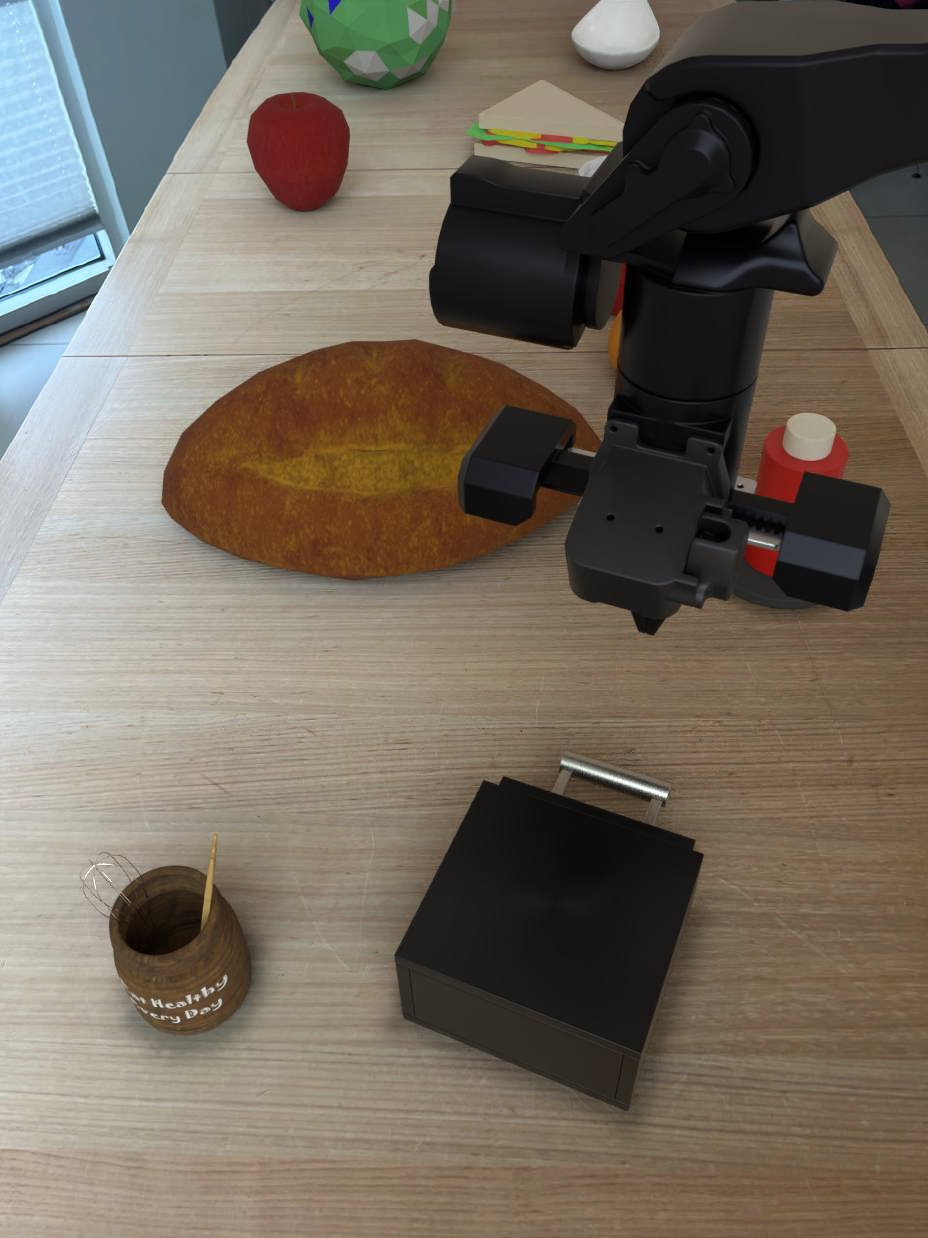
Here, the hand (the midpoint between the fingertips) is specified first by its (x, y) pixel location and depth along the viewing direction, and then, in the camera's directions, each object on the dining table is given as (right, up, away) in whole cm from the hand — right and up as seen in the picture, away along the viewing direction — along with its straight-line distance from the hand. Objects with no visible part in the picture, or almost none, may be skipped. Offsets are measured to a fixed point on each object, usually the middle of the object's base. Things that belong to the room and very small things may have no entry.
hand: (648, 628), depth 55 cm
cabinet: (-5, -17, -1) cm, 18 cm away
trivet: (+12, +5, +20) cm, 24 cm away
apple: (-27, +46, +62) cm, 82 cm away
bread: (-15, +9, +26) cm, 31 cm away
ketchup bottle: (+12, +5, +19) cm, 23 cm away
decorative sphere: (-20, +73, +89) cm, 116 cm away
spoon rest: (+12, +80, +95) cm, 125 cm away
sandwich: (+1, +54, +69) cm, 88 cm away
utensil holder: (-23, -18, -1) cm, 29 cm away
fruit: (+8, +20, +36) cm, 42 cm away
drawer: (-4, -14, +1) cm, 14 cm away
